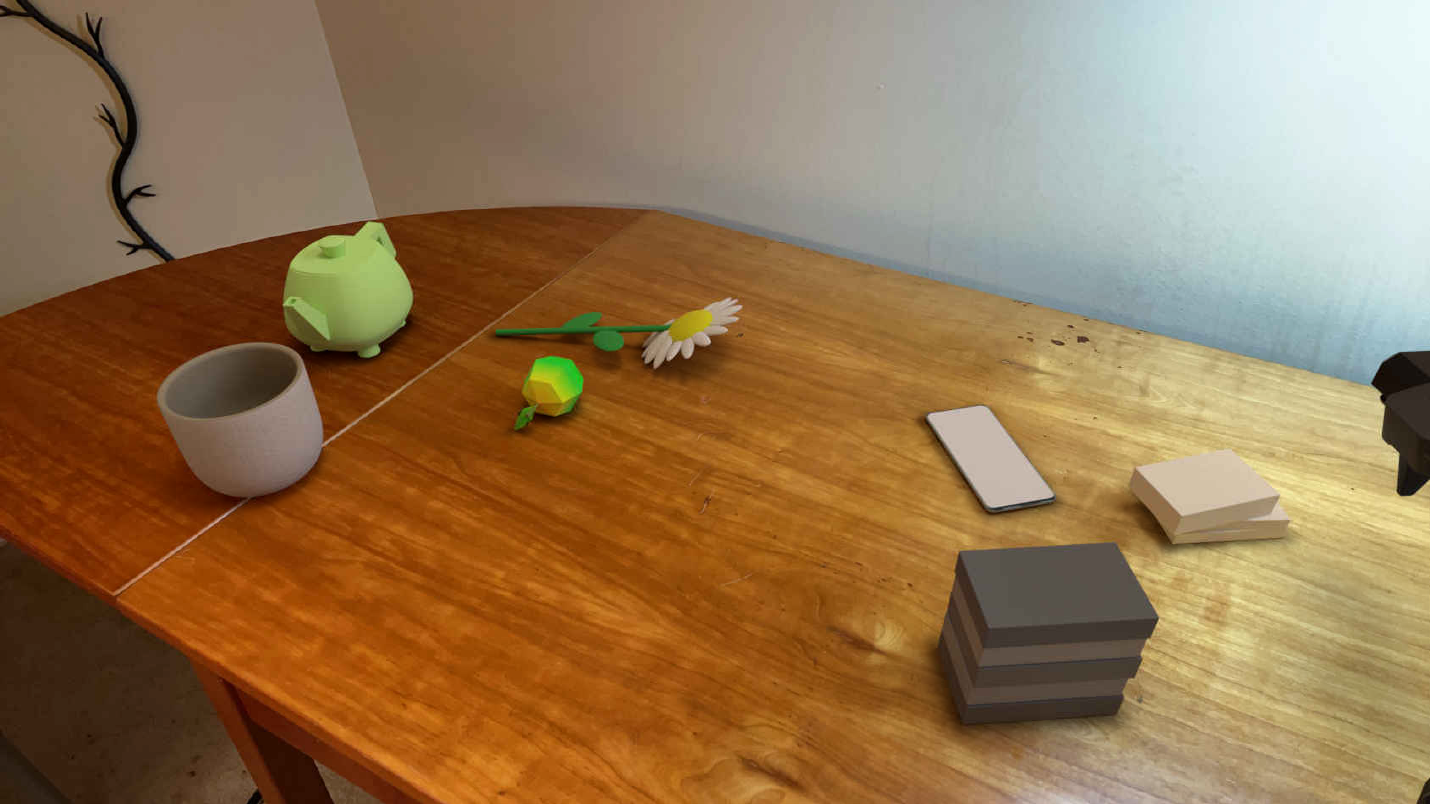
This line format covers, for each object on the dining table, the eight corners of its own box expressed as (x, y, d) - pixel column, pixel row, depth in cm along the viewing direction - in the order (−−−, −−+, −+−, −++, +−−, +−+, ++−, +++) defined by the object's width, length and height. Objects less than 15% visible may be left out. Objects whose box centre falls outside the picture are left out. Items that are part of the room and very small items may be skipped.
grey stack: (1118, 715, 67) (1161, 617, 60) (962, 725, 66) (988, 628, 60) (1081, 638, 72) (1117, 541, 66) (937, 647, 72) (958, 550, 65)
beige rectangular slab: (1285, 538, 81) (1295, 519, 80) (1170, 545, 80) (1178, 526, 79) (1241, 483, 87) (1250, 464, 85) (1134, 489, 86) (1141, 470, 85)
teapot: (365, 390, 100) (335, 290, 92) (258, 375, 102) (220, 277, 95) (447, 298, 115) (427, 207, 108) (351, 288, 118) (325, 197, 110)
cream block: (1271, 514, 80) (1281, 494, 79) (1173, 536, 78) (1181, 515, 77) (1220, 467, 85) (1229, 447, 84) (1127, 486, 83) (1134, 466, 82)
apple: (560, 332, 95) (519, 379, 88) (605, 372, 97) (568, 422, 90) (527, 367, 100) (486, 414, 93) (570, 405, 101) (533, 454, 94)
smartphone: (989, 511, 83) (924, 413, 95) (988, 515, 83) (923, 417, 95) (1059, 498, 84) (985, 403, 96) (1057, 503, 85) (985, 407, 96)
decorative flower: (482, 381, 105) (736, 378, 98) (471, 344, 102) (731, 339, 95) (522, 328, 115) (754, 322, 108) (512, 293, 113) (750, 285, 106)
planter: (231, 532, 83) (188, 440, 76) (178, 470, 90) (134, 380, 83) (357, 467, 90) (327, 377, 83) (298, 414, 97) (267, 327, 90)
